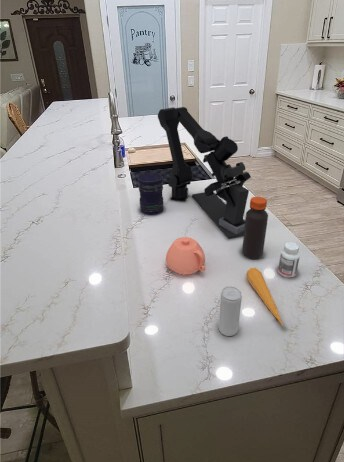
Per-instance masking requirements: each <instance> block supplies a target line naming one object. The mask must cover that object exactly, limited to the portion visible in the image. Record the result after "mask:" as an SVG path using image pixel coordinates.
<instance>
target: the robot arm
mask: <svg viewBox="0 0 344 462" xmlns="http://www.w3.org/2000/svg"><path fill="white" fill-rule="evenodd" d="M157 119H158V122H159V124H160V127H161V128H162V129H163V130H164V131H165V134H166V138H167V142H168V147H169V151H170V156H171V160H172V169H171V171H170V172H171V177H170V178H169V179H168V180H167V184H168V186H169V187H170V188H171V197H170V200H171V201H179V202H185V201H187V199H188V197H189V187H188V185H191V182H192V179H193V175H194V174H193V172H192V167H191V165H188V164H187V163H186V162H185V158H184V157H185V156H184V152H183V148H182V143H181V138H180V134H179V130H178V128H179V125H180V124H181V126H182V127H183V128H184V129H185V130H186V131H187V133H188V134H189V135H190V137H192V139H193V145H194V146H195V148H196V150H197V151H198V153H200V154H204V155H203V160H202V162H203V164H204V163H207V164H208V166H209V168H210V170H211V171H212V173H211V176H212V177H215V179H216V181H215V182H211V183H210V184H209V185H207V186H206V187H205V188H204V192H205V194H206V196H210V195H212V194H213V192H214V193H215V196H218V197H219V198H220V199H221V200H222V201H225V203H226V202H227V203H229V204H230V205H231V206H232V207H234V206H235V203H234V201H233V199H232V197H231V195H230V193H229V185H235V184H239V185H240V186H242V187H244V184H245V183H246V182H247V181H248V180H250V179H251V178H252V176H251V174H250V173H249V172H248V171H246V166H245V163H244V162H243V161H240V162H237V163H236V164H235V165H234V166H232V165H231V164H229V163H228V164H227V162H226V161H228V160H229V159H230V158H232V156H234V155H235V154H236V153H237V152H238V150H239V147H238V144H237V142H236V141H234V140H233V139H231V138H229V136H227V135H226V136H223V137H222V138H221V139H218V138H217V137H216V136H215V135H214V134H213V133H211V132H210V131H208V130H205V129H204V128H203V127H202V126H201V124H199V123H198V122H197V120H196V119H195V118H194V117H193V116H192V114H190V112H189V110H188V108H187V107H185V106H179V107H167V108H161V109H159V111H158V113H157ZM206 153H208V154H206ZM204 192H203V193H204Z"/></svg>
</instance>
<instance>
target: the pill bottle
mask: <svg viewBox="0 0 344 462" xmlns="http://www.w3.org/2000/svg"><path fill="white" fill-rule="evenodd" d="M299 249H300V247H299V245H298V244H297V243H295V242H292V241H289V242H285V243H284V246H283V249H282V250H281V251H280V256H279V263H278V267H277V268H278V269H277V271H278V273H279V274H280V275H281V276H282V277H285V278H293V277H295V276H297V272H298V269H299V268H298V267H299V262H300V258H301V254H300V252H299Z"/></svg>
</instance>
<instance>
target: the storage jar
mask: <svg viewBox="0 0 344 462" xmlns="http://www.w3.org/2000/svg"><path fill="white" fill-rule="evenodd" d="M137 178H138V179H137V180H138V183H137V184H138V191H139V207H140V208H139V209H140V213H141V214H142V215H145V216H157V215H160V214H162V213H163V212H164V196H163V190H164V182H163V175H162V174H161V173H159V172H155V171H150V172H149V171H148V172H144V173H140V174H139V175H138V177H137Z"/></svg>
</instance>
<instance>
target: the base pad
mask: <svg viewBox="0 0 344 462" xmlns="http://www.w3.org/2000/svg"><path fill="white" fill-rule="evenodd" d="M215 194H216V192H215V191H214V192H213V194H212V195H210V196H206V194H205V192H198V193H193V194H191V197H192V198H193V199H194V200H195V201H196V203H197V204H198V205H199V207H200V208H201V209H202V210H203V211H204V212H205V213H206V214H207V216H208V217H209V218H210V219H211V220H212V222H213V223H214V224H215V225H216V226H217V228H219V230H220V231H221V232H222V233H223V234H224V235H225V237H226V238H227V239H228V240H231V239H236V238H242V237H244V229H245V219H244V218H243V221H242V223H239V224H235V225H234V224H232V223H231V222H230V221H228V220H227V219H225V218H224V212H225V207H226V202H224V200H223V199H222V198H220V197H219V196H215Z"/></svg>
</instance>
